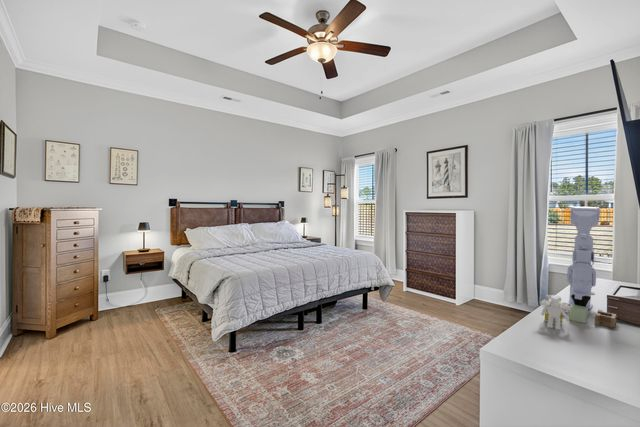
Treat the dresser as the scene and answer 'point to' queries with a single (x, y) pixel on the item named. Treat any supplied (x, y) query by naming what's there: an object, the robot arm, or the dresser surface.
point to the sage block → (578, 313)
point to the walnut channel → (603, 318)
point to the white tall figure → (548, 314)
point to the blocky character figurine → (554, 311)
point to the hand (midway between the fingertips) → (579, 313)
